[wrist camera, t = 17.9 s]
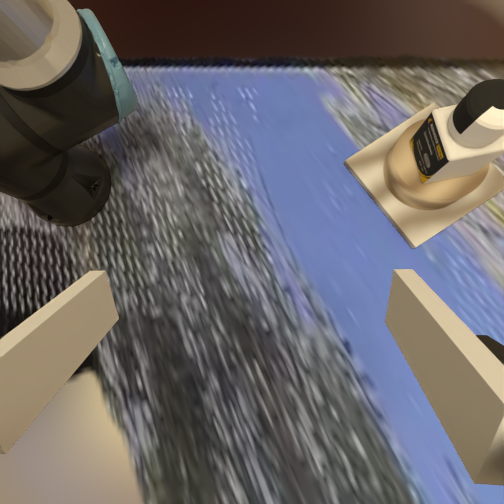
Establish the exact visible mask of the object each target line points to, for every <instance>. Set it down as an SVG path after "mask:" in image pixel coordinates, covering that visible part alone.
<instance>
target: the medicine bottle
mask: <svg viewBox="0 0 504 504" xmlns="http://www.w3.org/2000/svg"><path fill="white" fill-rule="evenodd" d="M409 143H410V146H411V149H412V152H413V155H414V159H415V162H416V165H417V168H418V172H419V175H420V178H421V181H422V183H423V184H426V183H431V182H436V181H441V180H446V179H451V178H457V177H462V176H467V175H472V174H474V173H475V172H477V171H478V170H479V169H481V168H482V167H484V166H485V165H487V164H488V163H490V162H491V161H492V160H494V159H495V158H497V157H498V156H500V155H501V154H503V153H504V80H502V79H492V80H486V81H483V82H480V83H478V84H477V85H475V86H474V87H473V88H472V89H471V90H470V91H469V92H468V93H467V95H466V96H465V97H464V98H463V99H462V100H461V101H460V103H459V104H457V105H453V106H448V107H443V108H438V109H434V110H433V111H432V112H431V113H430V115H429V116H428V117H427V119H426V120H425V121H424V123H423V124H422V125H421V126H420V128H419V129H418V130H417V132H416V133H415V134H414V136H413V137H412V138H411V139H410V141H409Z"/></svg>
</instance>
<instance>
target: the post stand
mask: <svg viewBox="0 0 504 504" xmlns="http://www.w3.org/2000/svg"><path fill="white" fill-rule="evenodd" d="M434 109H438V107H437V106H436V104H435V103H433V104H431V105H430V106H428V107H426V108H425V109H423V110H422V111H420V112H419V113H417V114H416V115H414V116H413V117H411V118H410V119H408V120H406V121H405V122H403V123H402V124H400V125H399V126H397V127H396V128H394V129H393V130H391V131H390V132H388V133H387V134H385V135H383V136H382V137H380V138H379V139H377V140H376V141H374V142H373V143H371V144H370V145H368V146H367V147H365V148H363V149H362V150H360V151H359V152H357V153H356V154H354V155H353V156H351V157H350V158H348V159H347V160H345V162H344V165H345V166H346V167H347V169H348V170H349V171H350V172H351V174H352V175H353V176H354V177H355V179H356V180H357V181H358V182H359V183H360V185H361V186H362V187H363V188H364V190H365V191H366V192H367V193H368V195H369V196H370V197H371V198H372V200H373V201H374V202H375V203H376V205H377V206H378V207H379V208H380V210H381V211H382V212H383V213H384V214H385V216H386V217H387V218H388V219H389V221H390V222H391V223H392V224H393V226H394V227H395V228H396V229H397V231H398V232H399V233H400V234H401V236H402V237H403V238H404V239H405V241H406V242H407V243H408V244H409V246H410V247H411V248H412V249H413V248H416V247H417V246H419V245H420V244H422V243H423V242H425V241H426V240H428V239H429V238H431V237H432V236H434V235H435V234H437V233H438V232H440V231H441V230H443V229H444V228H446V227H448V226H449V225H451V224H452V223H454V222H455V221H457V220H458V219H460V218H461V217H463V216H464V215H466V214H467V213H469V212H470V211H472V210H473V209H475V208H476V207H478V206H479V205H481V204H482V203H484V202H485V201H487V200H488V199H490V198H491V197H493V196H495V195H496V194H498V193H499V192H501V191H502V190H504V176H503V175H502V174H501V173H500V172H499V171H498V170H497V168H496V167H495V166H494V165H493V164H492V163H491V162H490V163H488V164H487V165H485V166H484V167H482V168H481V169H479V170H478V171H477V172H475V173H474V174H472V175H467V176H462V177H457V178H451V179H446V180H441V181H436V182H431V183H426V184H423V183H422V181H421V178H420V175H419V172H418V168H417V165H416V162H415V159H414V155H413V152H412V149H411V146H410V143H409V141H410V139H411V138H412V137H413V136H414V134H415V133H416V132H417V130H418V129H419V128H420V126H421V125H422V124H423V123H424V121H425V120H426V119H427V117H428V116H429V115H430V113H431V112H432V111H433V110H434Z"/></svg>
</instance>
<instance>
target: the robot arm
mask: <svg viewBox="0 0 504 504" xmlns="http://www.w3.org/2000/svg"><path fill="white" fill-rule="evenodd" d="M137 105H138V99H137V96H136V93H135V91H134V89H133V87H132V85H131V83H130V81H129V79H128V77H127V75H126V73H125V71H124V69H123V67H122V65H121V63H120V62H119V60H118V58H117V56H116V54H115V52H114V50H113V48H112V46H111V44H110V42H109V40H108V38H107V36H106V35H105V33H104V31H103V29H102V27H101V26H100V24H99V22H98V20H97V19H96V17H95V15H94V14H93V12H92V11H90V10H89V9H83V10H81V9H78V10H77V11H75V9H74V8H73V7H72V6H71V4H70V3H69V2H68V1H67V0H0V192H2V193H5V194H7V195H10V196H12V197H15V198H17V199H19V200H20V201H21V202H22V203H23V204H25V205H26V206H27V207H28V208H29V209H30V210H31V211H33V212H34V213H35V214H36V215H37V216H38V217H40V218H41V219H43V220H45V221H48V222H50V223H53V224H56V225H59V226H75V225H79V224H82V223H84V222H86V221H88V220H89V219H91V218H92V217H94V216H95V215H96V214H97V213H98V212H99V211H100V210H101V208H102V207H103V206H104V204H105V202H106V201H107V198H108V196H109V193H110V188H111V176H110V172H109V169H108V167H107V165H106V164H105V162H104V161H103V160H102V159H101V158H100V157H99V156H97V155H96V154H95V153H94V152H92V151H91V150H89V149H87V148H85V147H83V146H80V145H78V144H80V143H82V142H83V141H85V140H87V139H89V138H91V137H93V136H94V135H96V134H98V133H100V132H102V131H104V130H105V129H107V128H109V127H111V126H113V125H115V124H116V123H119V122H121V120H122V119H123V118H125V117H126V116H128V115H129V114H131V113H132V112H133V111H134V110H135V109H136V108H137ZM118 319H119V317H118V314H117V310H116V307H115V303H114V299H113V296H112V292H111V289H110V285H109V282H108V278H107V275H106V271H89V272H88V273H87V274H85V275H84V276H83V277H82V278H80V279H79V280H78V281H76V282H75V283H74V284H72V285H71V286H70V287H68V288H67V289H66V290H64V291H63V292H62V293H60V294H59V295H58V296H57V297H55V298H54V299H53V300H51V301H50V302H49V303H47V304H46V305H45V306H43V307H42V308H41V309H39V310H38V311H37V312H35V313H34V314H33V315H32V316H30V317H29V318H28V319H26V320H25V321H24V322H22V323H21V324H20V325H18V326H17V327H16V328H14V329H13V330H12V331H10V332H9V333H7V334H5V335H3V336H1V337H0V454H6V453H7V452H8V451H9V450H10V448H11V447H12V446H13V445H14V444H15V442H16V441H17V440H18V439H19V438H20V437H21V435H22V434H23V433H24V432H25V431H26V429H27V428H28V427H29V426H30V425H31V423H32V422H33V421H34V420H35V419H36V417H37V416H38V415H39V414H40V413H41V411H42V410H43V409H44V408H45V407H46V405H47V404H48V403H49V402H50V400H51V399H52V398H53V397H54V396H55V395H56V393H57V392H58V391H59V390H60V389H61V387H62V386H63V385H64V384H65V383H66V382H67V380H68V379H69V378H70V377H71V376H72V374H73V373H74V372H75V371H76V370H77V368H78V367H79V366H80V365H81V364H82V362H83V361H84V360H85V359H86V358H87V356H88V355H89V354H90V353H91V352H92V350H93V349H94V348H95V347H96V346H97V344H98V343H99V342H100V341H101V340H102V338H103V337H104V336H105V335H106V334H107V332H108V331H109V330H110V329H111V328H112V326H113V325H114V324H115V323H116V322H117V320H118ZM385 323H386V325H387V326H388V328H389V330H390V332H391V334H392V335H393V337H394V339H395V341H396V343H397V344H398V346H399V348H400V350H401V352H402V353H403V355H404V357H405V359H406V361H407V363H408V364H409V366H410V368H411V370H412V372H413V373H414V375H415V377H416V379H417V381H418V382H419V384H420V386H421V388H422V390H423V392H424V393H425V395H426V397H427V399H428V401H429V402H430V404H431V406H432V408H433V410H434V411H435V413H436V415H437V417H438V419H439V420H440V422H441V424H442V426H443V428H444V430H445V431H446V433H447V435H448V437H449V439H450V440H451V442H452V444H453V446H454V448H455V449H456V451H457V453H458V455H459V457H460V459H461V460H462V462H463V464H464V466H465V468H466V469H467V471H468V473H469V475H470V477H471V478H472V480H473V482H474V484H490V485H504V346H503V345H502V344H500V343H498V342H497V341H495V340H494V339H492V338H490V337H489V336H487V335H475V334H474V333H473V332H472V331H471V330H470V329H469V328H468V327H467V326H466V325H465V324H464V323H463V322H462V321H461V320H460V319H459V318H458V317H457V316H456V314H455V313H454V312H453V311H452V310H451V309H450V308H449V307H448V306H447V305H446V304H445V303H444V302H443V301H442V300H441V299H440V298H439V297H438V296H437V295H436V293H435V292H434V291H433V290H432V289H431V288H430V287H429V286H428V285H427V284H426V283H425V282H424V281H423V280H422V279H421V278H420V277H419V276H418V275H417V274H416V272H415V271H414V270H413V269H394V272H393V278H392V284H391V290H390V296H389V302H388V308H387V314H386V320H385Z"/></svg>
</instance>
